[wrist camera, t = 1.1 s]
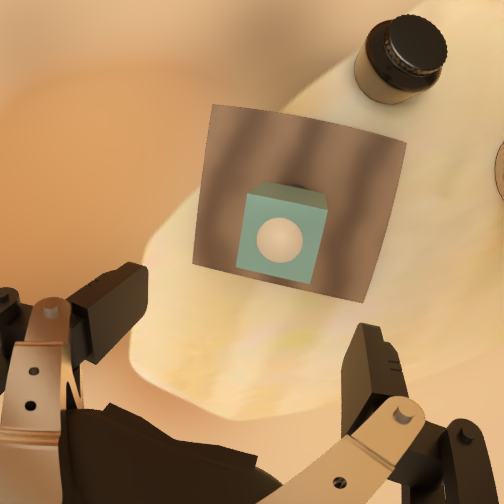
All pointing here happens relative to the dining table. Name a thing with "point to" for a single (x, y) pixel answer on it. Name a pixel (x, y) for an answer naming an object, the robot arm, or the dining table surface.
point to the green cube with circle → (282, 231)
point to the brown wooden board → (305, 177)
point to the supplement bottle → (400, 59)
